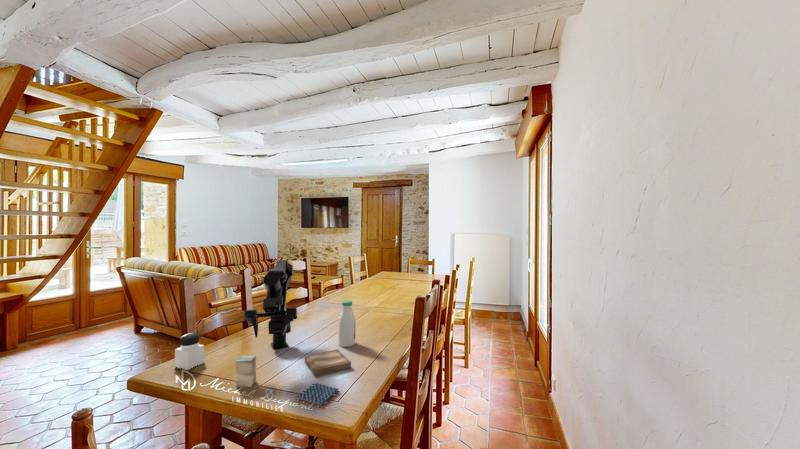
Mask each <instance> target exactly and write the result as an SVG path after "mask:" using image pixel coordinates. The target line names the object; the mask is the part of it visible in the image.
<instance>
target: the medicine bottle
mask: <svg viewBox="0 0 800 449" xmlns="http://www.w3.org/2000/svg"><path fill="white" fill-rule="evenodd" d="M205 355H206V354H205V345H204V344H200V335H199V333H195V332H191V333H190V332H189V333H186V334H184V335H182V336H181V337H180V347H177V348H175V349H174V368H176V367H177V369H181V368H182V369H181V370H186V371H189V370H191V368H192V369H193V367H194V368H195V366H196V367H197V365H198V366H200V365H202V364H204V363H205V358H206V357H205Z"/></svg>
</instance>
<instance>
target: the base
mask: <svg viewBox="0 0 800 449" xmlns="http://www.w3.org/2000/svg"><path fill="white" fill-rule="evenodd" d="M304 365H306V366H307V368H308V369H309V371H310V372H311V374H312V375H313V376H314V378H318V377H319V378H320V377H322V376H327V375H330V374H335V373H338V372H342V371H345V370H348V369H351V368H352V361H351V360H350V359H349V358H347V356H345V354H344V353H343V352H341V351H340V349H333V350H328V351H323V352H319V353H314V354H311V355H306V356H304Z"/></svg>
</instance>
